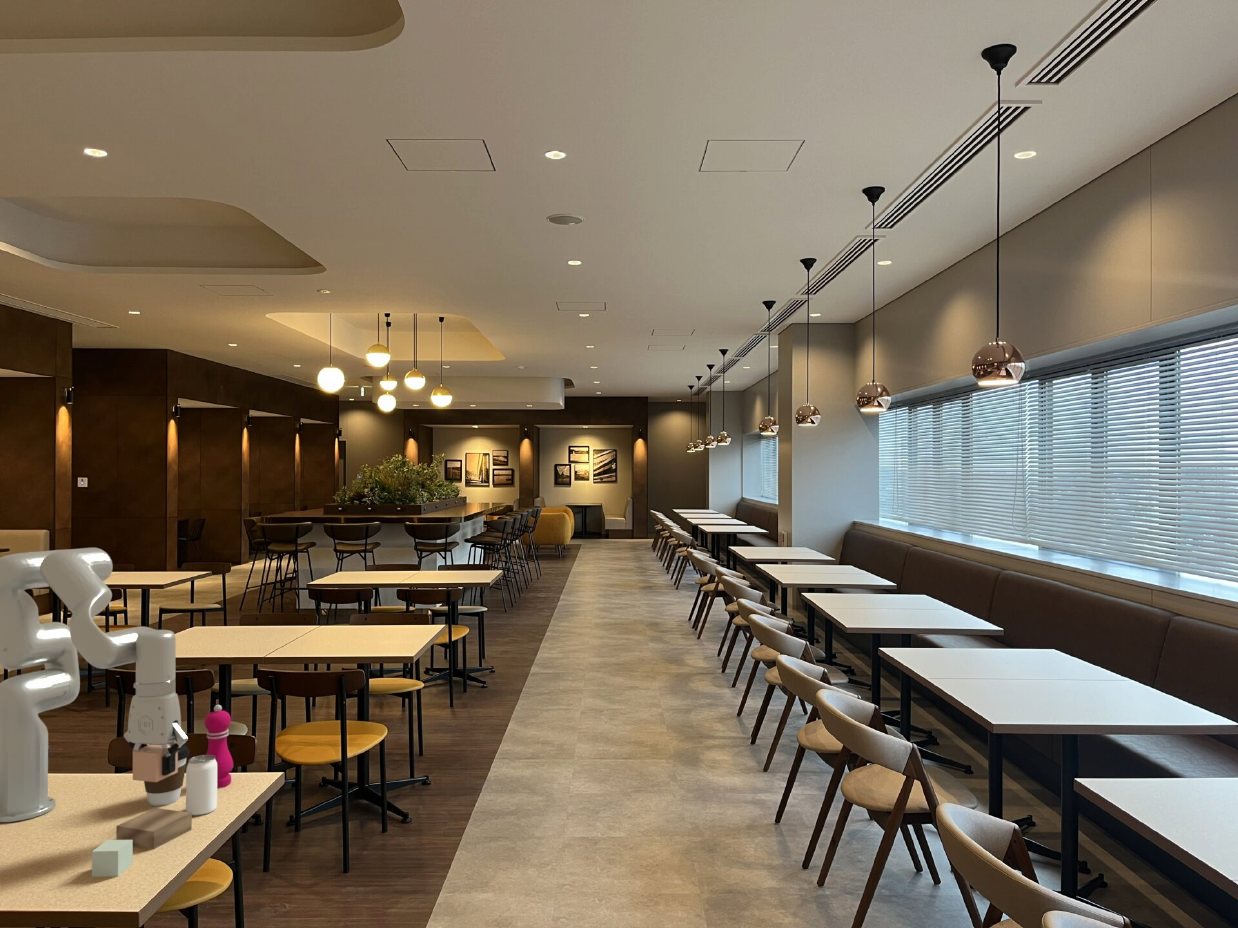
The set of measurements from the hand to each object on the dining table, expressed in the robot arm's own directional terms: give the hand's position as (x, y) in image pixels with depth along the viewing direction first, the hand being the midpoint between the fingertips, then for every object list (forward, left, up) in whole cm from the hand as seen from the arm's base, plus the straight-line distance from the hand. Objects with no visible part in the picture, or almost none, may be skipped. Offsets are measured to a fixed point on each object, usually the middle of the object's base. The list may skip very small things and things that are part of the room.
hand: (155, 771), depth 178 cm
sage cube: (+4, -15, -14) cm, 21 cm away
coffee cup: (-13, +17, -14) cm, 26 cm away
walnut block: (0, 0, -14) cm, 14 cm away
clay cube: (0, 0, -1) cm, 1 cm away
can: (0, +14, -14) cm, 20 cm away
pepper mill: (-8, +29, -14) cm, 33 cm away
